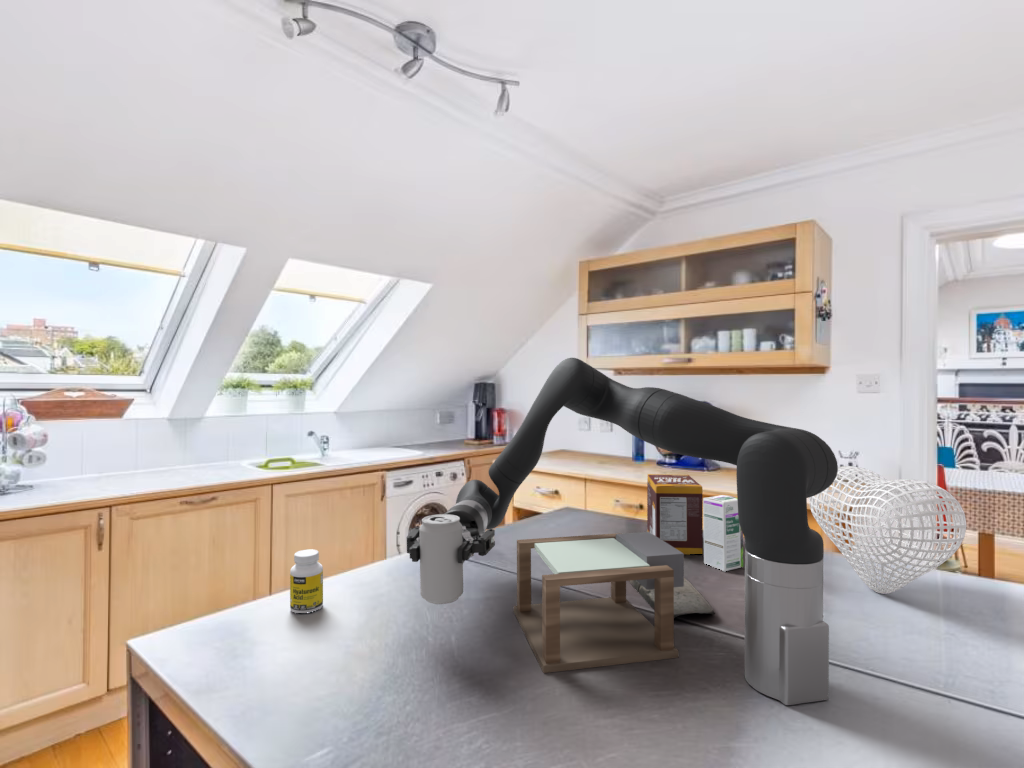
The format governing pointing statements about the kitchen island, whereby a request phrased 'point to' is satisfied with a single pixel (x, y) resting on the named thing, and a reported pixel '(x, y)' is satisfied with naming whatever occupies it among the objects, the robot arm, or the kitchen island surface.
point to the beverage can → (440, 559)
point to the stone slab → (679, 599)
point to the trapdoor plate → (613, 555)
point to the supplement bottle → (306, 582)
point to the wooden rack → (593, 616)
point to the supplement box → (676, 511)
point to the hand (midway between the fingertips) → (437, 555)
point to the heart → (889, 526)
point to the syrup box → (722, 533)
